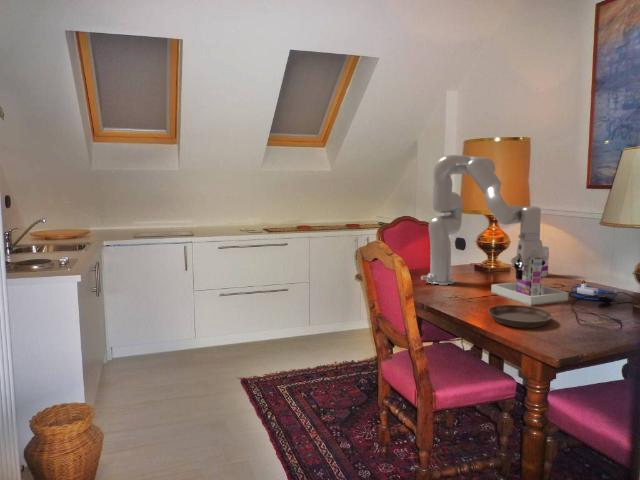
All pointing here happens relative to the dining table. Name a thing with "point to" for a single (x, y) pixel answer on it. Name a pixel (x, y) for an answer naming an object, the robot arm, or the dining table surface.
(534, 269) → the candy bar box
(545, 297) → the tray
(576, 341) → the dining table surface
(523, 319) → the plant saucer
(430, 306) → the dining table surface
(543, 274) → the supplement can
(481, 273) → the dining table surface
